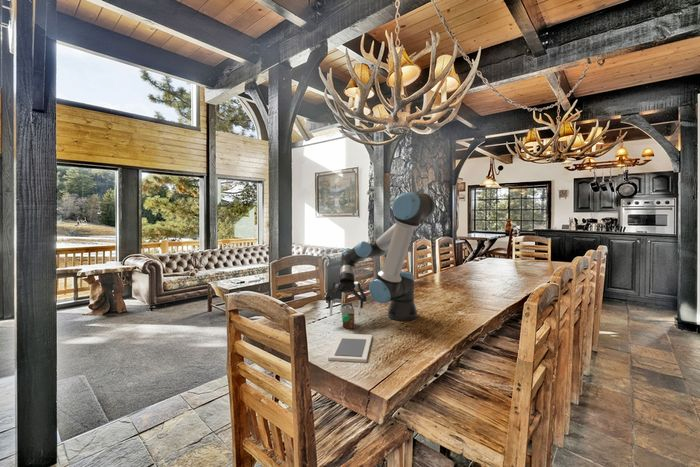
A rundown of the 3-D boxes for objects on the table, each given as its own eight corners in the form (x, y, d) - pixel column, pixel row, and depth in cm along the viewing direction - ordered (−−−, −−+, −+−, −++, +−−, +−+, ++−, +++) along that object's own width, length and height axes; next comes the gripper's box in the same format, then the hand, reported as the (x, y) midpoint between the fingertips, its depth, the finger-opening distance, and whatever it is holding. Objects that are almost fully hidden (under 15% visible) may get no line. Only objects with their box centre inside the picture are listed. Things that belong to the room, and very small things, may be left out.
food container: (339, 322, 162) (339, 302, 161) (352, 321, 162) (351, 301, 162) (341, 331, 149) (340, 309, 149) (354, 330, 150) (354, 309, 149)
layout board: (372, 337, 142) (372, 334, 142) (366, 362, 118) (366, 358, 118) (340, 335, 144) (340, 332, 144) (328, 360, 120) (328, 356, 120)
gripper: (371, 280, 171) (371, 317, 157) (324, 280, 173) (320, 317, 159) (371, 271, 166) (371, 310, 152) (322, 271, 168) (317, 309, 154)
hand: (345, 313), depth 156 cm, fingers open, 13 cm apart
